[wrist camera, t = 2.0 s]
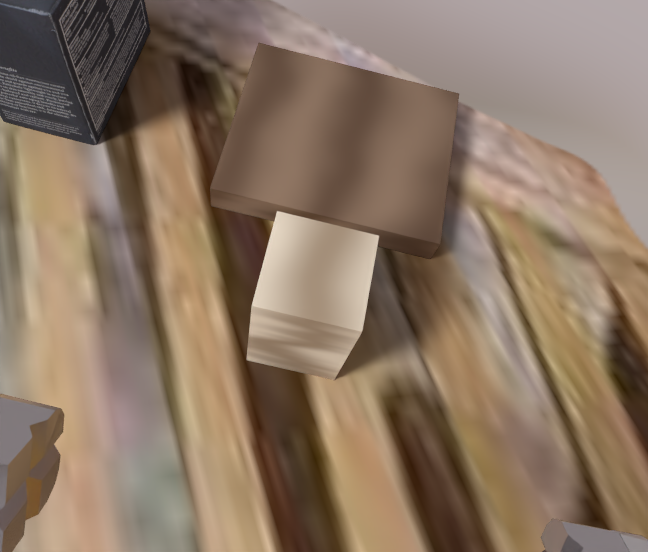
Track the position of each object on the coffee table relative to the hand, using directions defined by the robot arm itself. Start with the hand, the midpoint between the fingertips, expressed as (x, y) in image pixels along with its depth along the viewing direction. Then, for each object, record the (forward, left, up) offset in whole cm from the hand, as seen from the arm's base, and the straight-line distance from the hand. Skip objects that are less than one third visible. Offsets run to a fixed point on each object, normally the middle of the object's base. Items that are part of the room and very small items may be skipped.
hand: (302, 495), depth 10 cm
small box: (-18, +25, -23) cm, 39 cm away
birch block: (0, +11, -23) cm, 25 cm away
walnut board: (0, +24, -22) cm, 33 cm away
